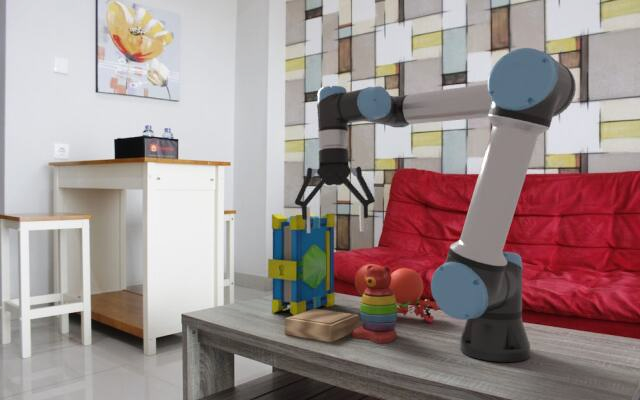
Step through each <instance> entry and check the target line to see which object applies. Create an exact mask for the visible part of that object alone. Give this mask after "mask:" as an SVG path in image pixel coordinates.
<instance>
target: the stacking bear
mask: <svg viewBox="0 0 640 400" xmlns="http://www.w3.org/2000/svg"><path fill="white" fill-rule="evenodd" d="M390 273H391V268H390V267H389V266H381V265H379V266H375V267H373V266H371V265H370V266H368V268H367V272H366V274H365V276H364V281H365V284H366V286H367V287H368V288H367V289H366V290H365V291H364V294H363V296H362V295H361V303H360V309H359V310H360V312H359V313H360V319H361V323H362V326H359V328H356V329H355V330H353V332H352V333H351V336H352V337H353V338H356V339H365V340H370V341H372V342H374V343H376V344H389V343H391V342H393V341H394V340H396V339H397V336H398V335H397V334H398V333H397V330H396V329H395V328H396V326H397V325H396V324H397V318H398V313H397V308H398V305H397V302H396V299H395V295H394V294H393V291H392V290H391V289H390V288H389V286H390V283H391V274H392V273H391V274H390Z"/></svg>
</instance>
